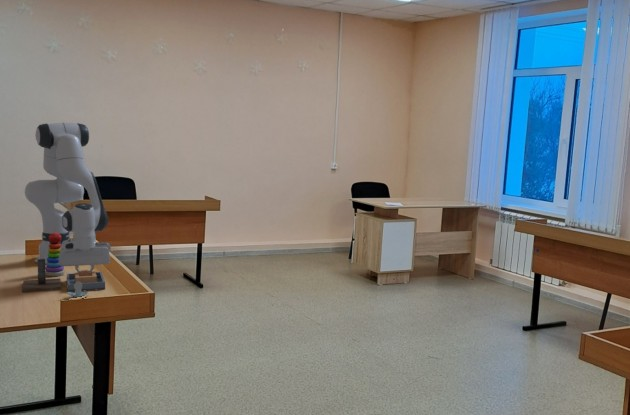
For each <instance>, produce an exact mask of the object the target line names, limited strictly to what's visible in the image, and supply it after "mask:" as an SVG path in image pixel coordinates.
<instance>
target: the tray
mask: <svg viewBox="0 0 630 415" xmlns="http://www.w3.org/2000/svg"><path fill="white" fill-rule="evenodd" d="M95 272H96V276H97V282H92V283H82V288H81V292H85V291H84V290H89V291H96V290H95V289H98V290H97V291H101V290H106V281H105V278H104V275H103V272H102V271H95ZM75 273H76V272H74V273H66V286H67V293H68V292H71V293H75V288H74V284H75Z"/></svg>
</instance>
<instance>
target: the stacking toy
mask: <svg viewBox="0 0 630 415" xmlns="http://www.w3.org/2000/svg"><path fill="white" fill-rule="evenodd" d="M49 241H50V242H51V243H50V244H49V249H48V252H49V253H48V258H47V261H48V262H47V263H46V264H45V276H46V277H60V276H63V275H65V273H66V272H65V270H64V269H65V266H60V265H59V253H60V250H61V248H60V247H61V244H60V243H59V242H60V241H61V235H60V234H59V233H57V232H54V233H51V234H50V236H49Z"/></svg>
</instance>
